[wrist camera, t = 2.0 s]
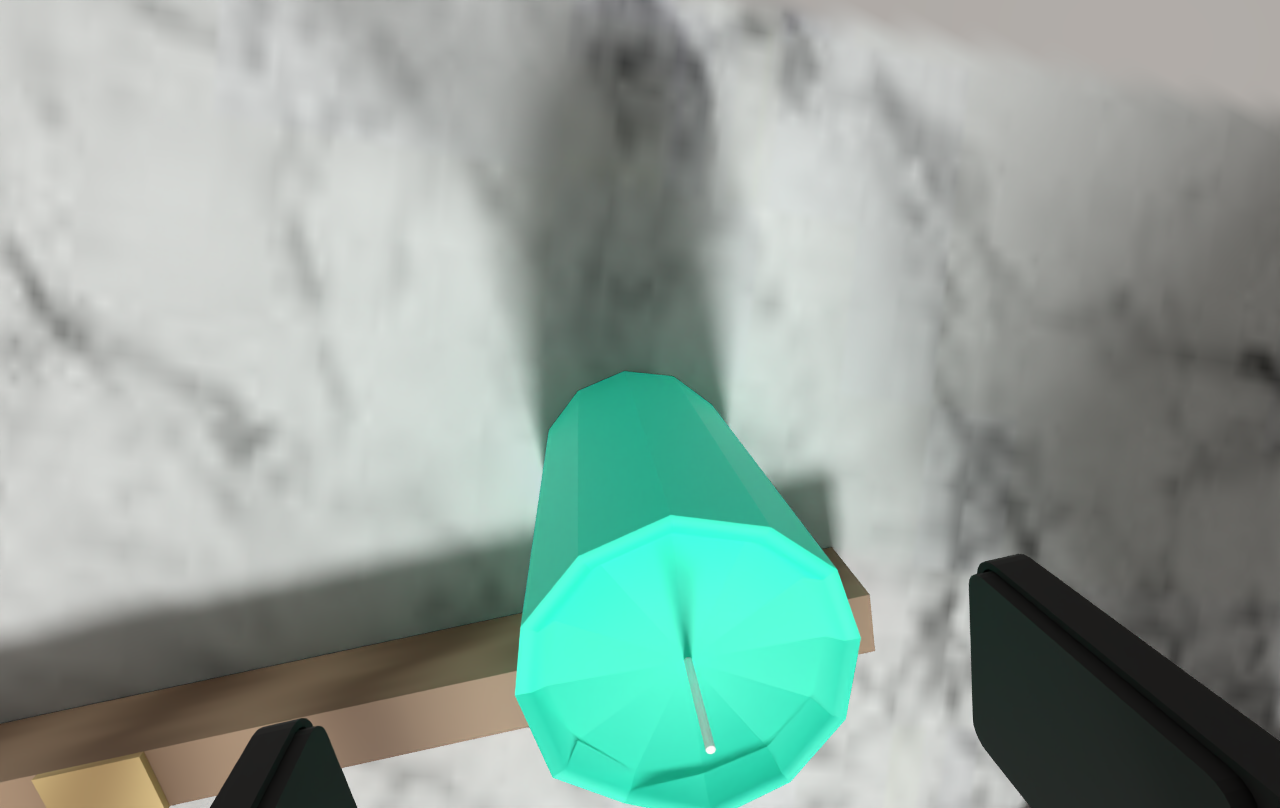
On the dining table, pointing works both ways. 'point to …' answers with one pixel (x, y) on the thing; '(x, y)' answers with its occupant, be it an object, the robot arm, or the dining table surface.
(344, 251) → the dining table surface
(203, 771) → the rail
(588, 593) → the candle
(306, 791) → the robot arm
